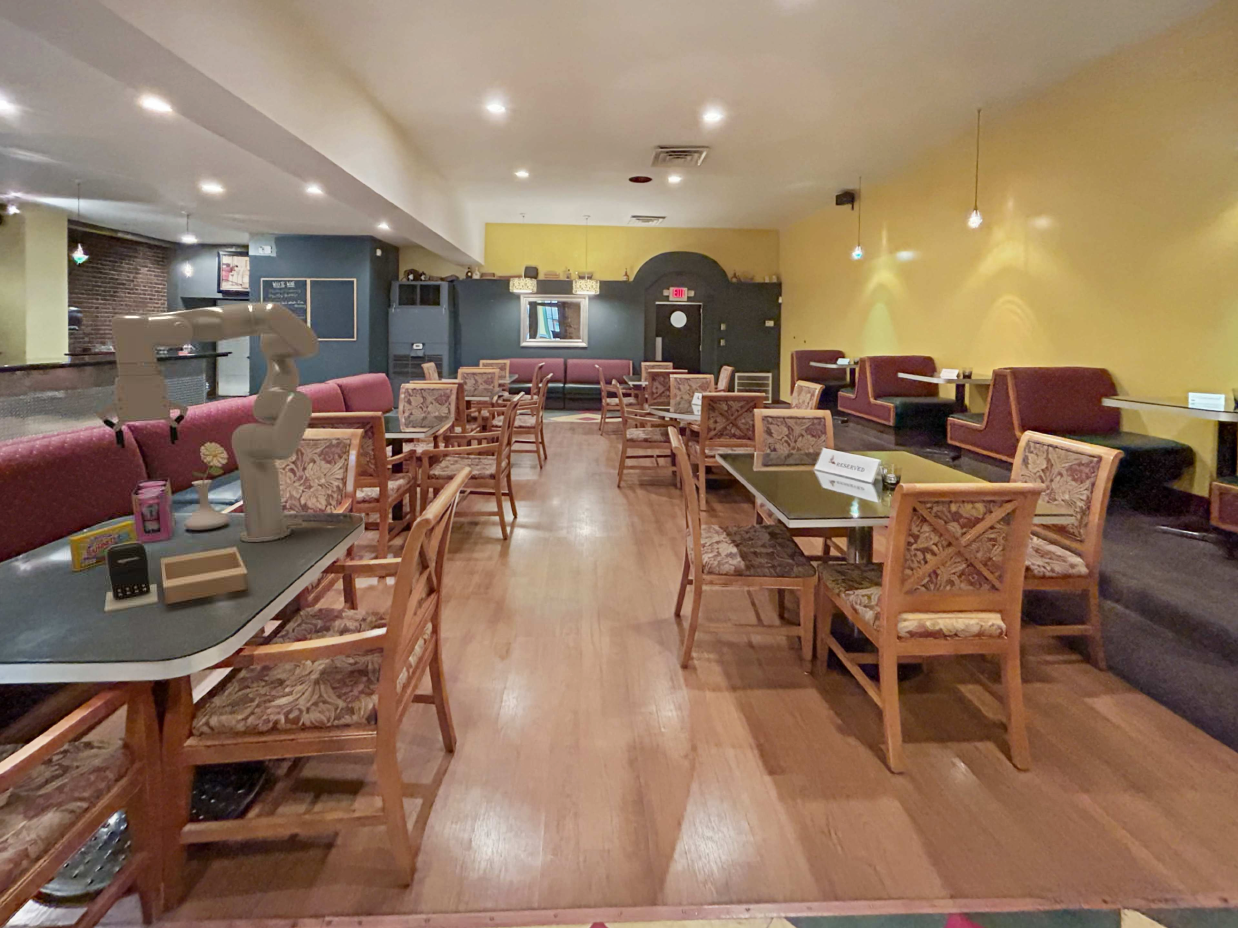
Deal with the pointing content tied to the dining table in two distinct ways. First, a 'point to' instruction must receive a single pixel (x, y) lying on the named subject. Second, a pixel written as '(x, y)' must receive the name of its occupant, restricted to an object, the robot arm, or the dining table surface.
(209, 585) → the carton
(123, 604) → the mat
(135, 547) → the battery charger
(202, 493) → the flower in vase
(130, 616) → the dining table surface
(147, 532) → the gum box
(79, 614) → the dining table surface
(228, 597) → the dining table surface
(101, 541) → the candy box
